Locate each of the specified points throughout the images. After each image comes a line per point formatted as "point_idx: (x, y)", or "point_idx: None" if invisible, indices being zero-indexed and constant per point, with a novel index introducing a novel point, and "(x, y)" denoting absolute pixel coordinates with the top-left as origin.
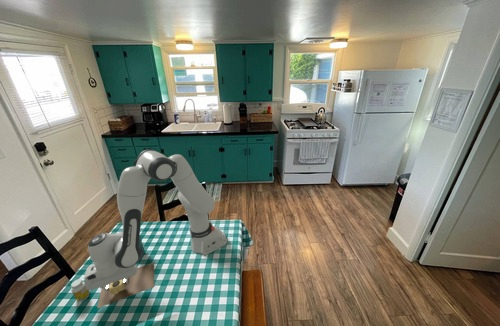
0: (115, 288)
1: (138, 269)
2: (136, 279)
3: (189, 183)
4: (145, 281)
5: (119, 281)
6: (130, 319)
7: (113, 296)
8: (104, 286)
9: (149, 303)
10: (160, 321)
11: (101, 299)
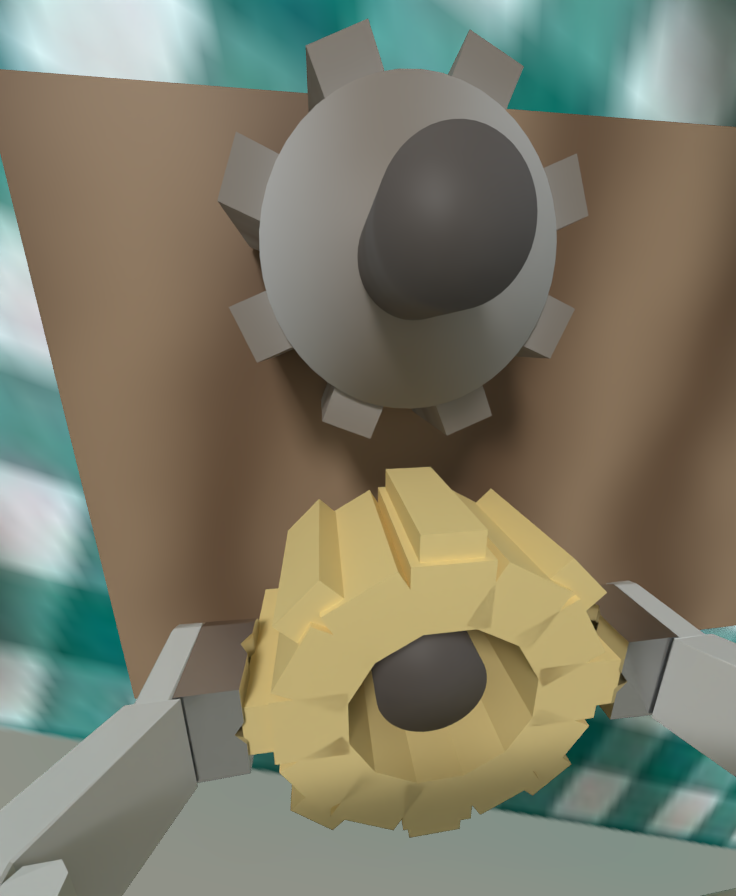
0: (443, 816)
1: (694, 186)
2: (625, 421)
3: None
4: (719, 511)
5: (513, 638)
6: None
7: None
8: (131, 813)
9: (649, 715)
10: (678, 840)
11: (147, 592)
